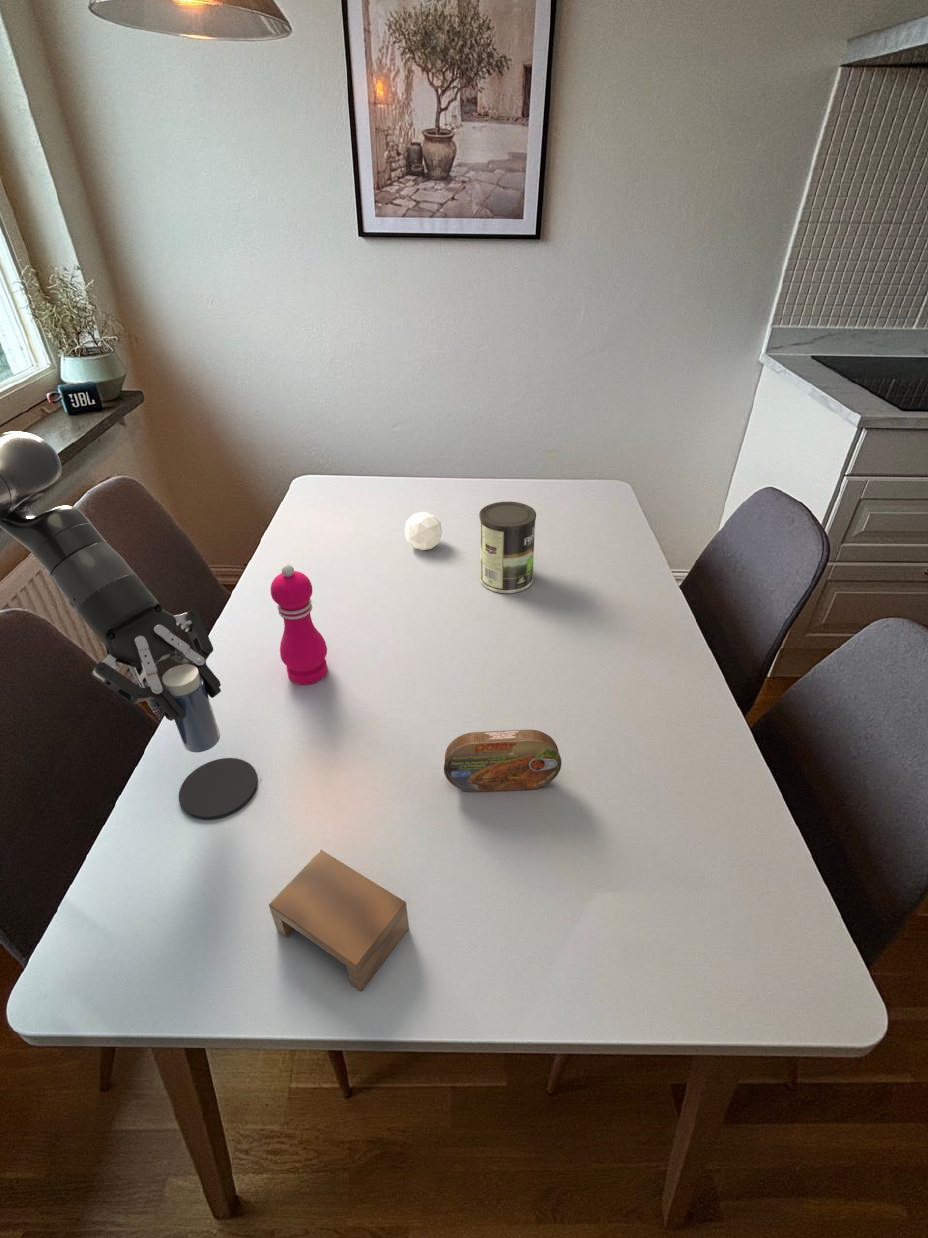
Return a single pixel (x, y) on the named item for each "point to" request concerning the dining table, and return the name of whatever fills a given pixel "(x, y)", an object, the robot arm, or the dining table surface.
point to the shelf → (342, 915)
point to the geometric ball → (423, 531)
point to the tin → (502, 760)
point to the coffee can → (507, 546)
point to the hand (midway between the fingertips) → (199, 706)
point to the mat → (218, 788)
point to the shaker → (192, 708)
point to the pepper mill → (298, 628)
